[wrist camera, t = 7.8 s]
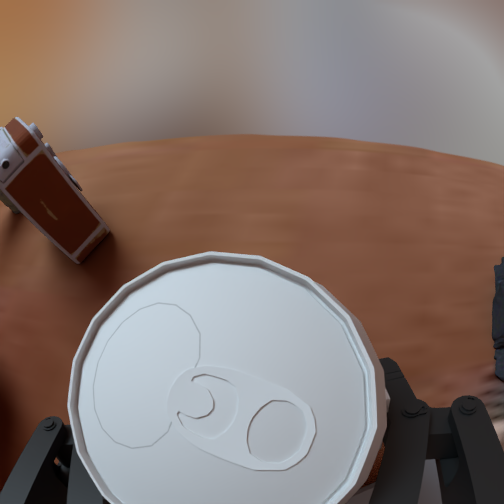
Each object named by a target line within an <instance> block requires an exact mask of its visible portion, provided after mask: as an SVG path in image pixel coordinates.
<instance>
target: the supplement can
mask: <svg viewBox="0 0 504 504" xmlns="http://www.w3.org/2000/svg"><path fill="white" fill-rule="evenodd" d="M68 412H69V417H70V423H71V428H72V433H73V437H74V442H75V446H76V450H77V453H78V455H79V457H80V459H81V461H82V463H83V465H84V466H85V468H86V470H87V472H88V473H89V475H90V477H91V478H92V480H93V482H94V483H95V485H96V487H97V488H98V490H99V491H100V493H101V494H102V496H103V497H104V498H105V499H106V500H107V501H108V502H110V503H111V504H345V503H346V502H347V501H348V500H349V499H350V498H351V497H352V496H353V495H354V494H355V493H356V492H357V491H358V489H359V488H360V487H361V486H362V485H363V484H364V483H365V482H366V480H367V479H368V476H369V474H370V471H371V469H372V466H373V464H374V461H375V459H376V456H377V453H378V451H379V448H380V445H381V442H382V439H383V437H384V434H385V431H386V428H387V413H386V393H385V378H384V370H383V368H382V365H381V363H380V361H379V359H378V357H377V355H376V353H375V351H374V348H373V346H372V344H371V342H370V340H369V338H368V336H367V334H366V332H365V330H364V328H363V326H362V324H361V322H360V321H359V320H358V319H357V318H356V317H355V316H354V315H353V314H352V313H351V312H350V311H349V310H348V309H347V308H346V307H345V306H343V305H342V304H341V303H340V302H339V301H338V300H337V299H336V298H335V297H334V296H333V295H332V294H331V293H330V292H329V291H328V290H327V289H325V288H324V287H323V286H322V285H320V284H318V283H316V282H313V281H312V280H311V279H310V278H309V277H307V276H305V275H303V274H300V273H298V272H296V271H293V270H291V269H289V268H287V267H284V266H282V265H280V264H278V263H275V262H273V261H271V260H268V259H266V258H264V257H262V256H255V255H244V254H233V253H222V252H211V251H210V252H206V253H201V254H197V255H192V256H188V257H183V258H179V259H174V260H170V261H165V262H162V263H161V264H159V265H157V266H156V267H154V268H152V269H150V270H149V271H147V272H145V273H143V274H142V275H140V276H138V277H136V278H135V279H133V280H131V281H130V282H128V283H126V284H124V285H123V286H122V287H121V288H120V289H119V290H118V291H117V292H116V293H115V295H114V296H113V297H112V298H111V299H110V300H109V301H108V302H107V303H106V304H105V305H104V306H103V308H102V309H101V310H100V311H99V312H98V313H97V314H96V315H95V316H94V318H93V319H92V320H91V323H90V325H89V327H88V329H87V331H86V333H85V335H84V337H83V339H82V341H81V344H80V346H79V348H78V350H77V352H76V355H75V357H74V359H73V364H72V371H71V379H70V387H69V396H68Z"/></svg>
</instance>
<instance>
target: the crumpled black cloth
mask: <svg viewBox="0 0 504 504" xmlns="http://www.w3.org/2000/svg"><path fill="white" fill-rule="evenodd" d="M494 271H495V287H496V293H495V297H494V299H493V310H492V318H493V319H492V339H493V340H494V341H495V344H494V346H493V347H495V348H496V351H495V356H494V359H496V371H495V374H496V375H497V376H498V377H499V378H500V379H501V380H504V257H502V263H501V264H500V265H495V266H494ZM499 349H500V350H499Z"/></svg>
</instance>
